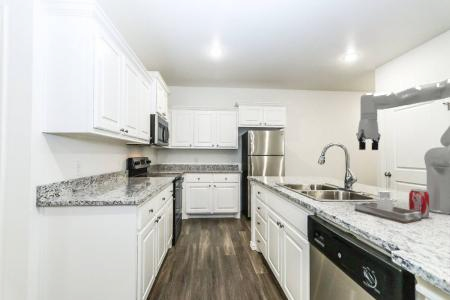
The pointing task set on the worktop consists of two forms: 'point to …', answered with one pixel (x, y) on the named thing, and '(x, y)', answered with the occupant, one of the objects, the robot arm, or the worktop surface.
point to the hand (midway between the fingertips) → (368, 149)
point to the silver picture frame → (389, 213)
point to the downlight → (385, 201)
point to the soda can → (419, 201)
